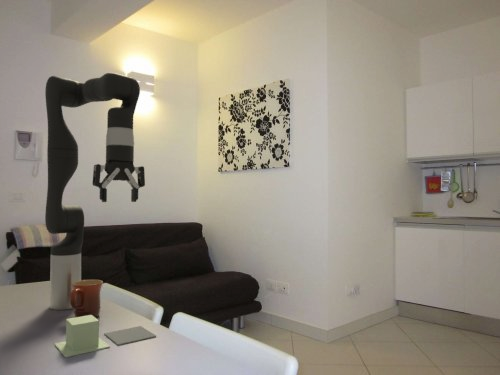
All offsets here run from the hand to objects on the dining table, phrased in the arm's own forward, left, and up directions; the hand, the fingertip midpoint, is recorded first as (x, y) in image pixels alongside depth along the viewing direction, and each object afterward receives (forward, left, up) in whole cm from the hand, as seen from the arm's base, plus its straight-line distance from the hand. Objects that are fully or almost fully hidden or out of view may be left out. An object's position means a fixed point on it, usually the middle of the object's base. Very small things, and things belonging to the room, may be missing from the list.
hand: (119, 201), depth 116 cm
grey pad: (+11, -1, -35) cm, 36 cm away
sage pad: (+11, -13, -35) cm, 38 cm away
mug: (-12, -6, -35) cm, 37 cm away
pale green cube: (+11, -13, -34) cm, 38 cm away
